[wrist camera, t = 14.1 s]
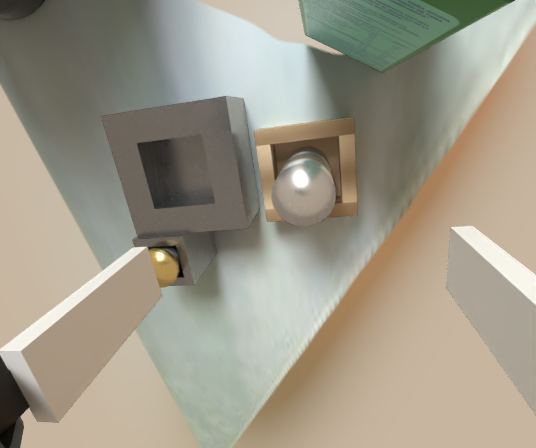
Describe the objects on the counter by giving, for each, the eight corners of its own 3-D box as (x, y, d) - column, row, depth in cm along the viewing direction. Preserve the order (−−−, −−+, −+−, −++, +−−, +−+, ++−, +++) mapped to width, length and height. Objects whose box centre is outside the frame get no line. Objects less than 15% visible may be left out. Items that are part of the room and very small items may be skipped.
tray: (260, 128, 35) (253, 131, 31) (350, 116, 33) (354, 118, 29) (271, 210, 38) (266, 221, 35) (353, 204, 36) (357, 215, 33)
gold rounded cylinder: (163, 228, 38) (132, 252, 32) (195, 226, 38) (170, 250, 31) (171, 259, 40) (143, 288, 34) (202, 258, 39) (180, 286, 33)
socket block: (139, 114, 37) (94, 116, 29) (243, 98, 34) (222, 95, 27) (176, 255, 43) (147, 286, 36) (266, 250, 40) (254, 282, 33)
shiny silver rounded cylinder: (283, 149, 34) (267, 167, 23) (328, 144, 33) (333, 160, 22) (288, 192, 36) (275, 228, 25) (331, 188, 35) (337, 224, 24)
